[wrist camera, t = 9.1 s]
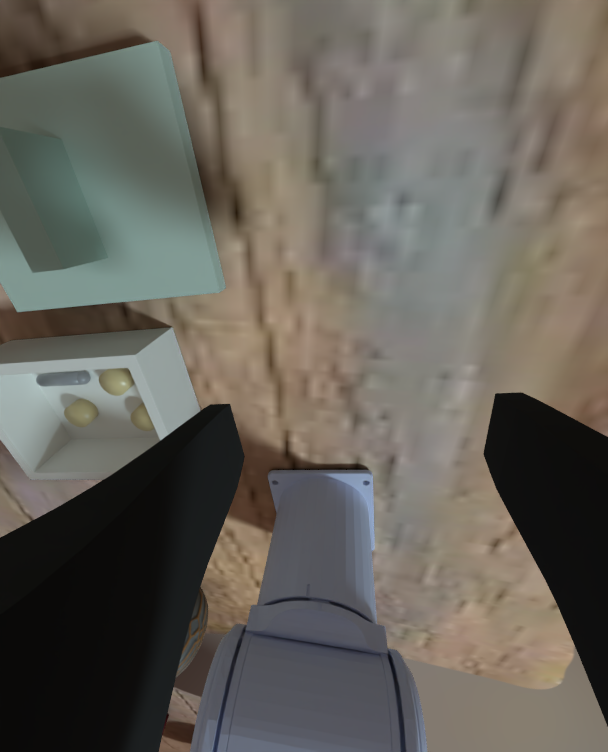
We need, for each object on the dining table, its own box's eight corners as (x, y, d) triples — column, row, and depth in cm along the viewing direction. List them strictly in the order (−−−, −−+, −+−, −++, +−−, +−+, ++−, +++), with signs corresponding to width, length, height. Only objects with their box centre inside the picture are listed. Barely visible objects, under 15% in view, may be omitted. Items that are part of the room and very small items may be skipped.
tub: (210, 439, 24) (187, 479, 20) (72, 442, 26) (30, 479, 22) (172, 327, 20) (135, 354, 16) (10, 340, 22) (-54, 367, 18)
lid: (229, 285, 18) (196, 310, 14) (40, 304, 20) (-36, 330, 16) (176, 56, 13) (105, -3, 9) (-63, 111, 15) (-205, 80, 11)
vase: (204, 612, 38) (169, 715, 30) (150, 591, 37) (100, 693, 29) (225, 589, 35) (192, 698, 27) (167, 565, 34) (115, 671, 26)
